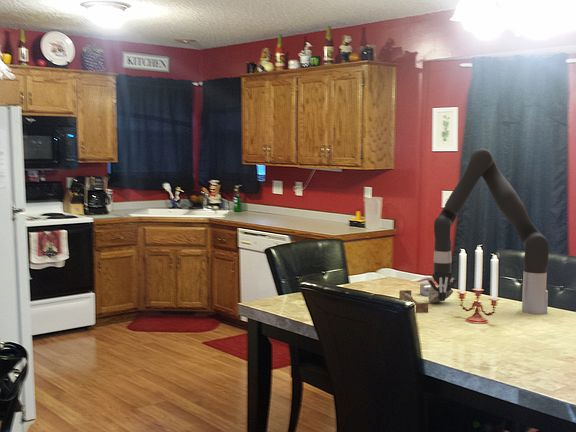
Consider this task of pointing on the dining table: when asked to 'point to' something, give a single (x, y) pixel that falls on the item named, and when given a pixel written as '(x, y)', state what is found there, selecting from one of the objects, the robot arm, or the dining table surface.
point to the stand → (407, 296)
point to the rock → (436, 294)
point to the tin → (424, 290)
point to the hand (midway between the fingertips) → (441, 300)
